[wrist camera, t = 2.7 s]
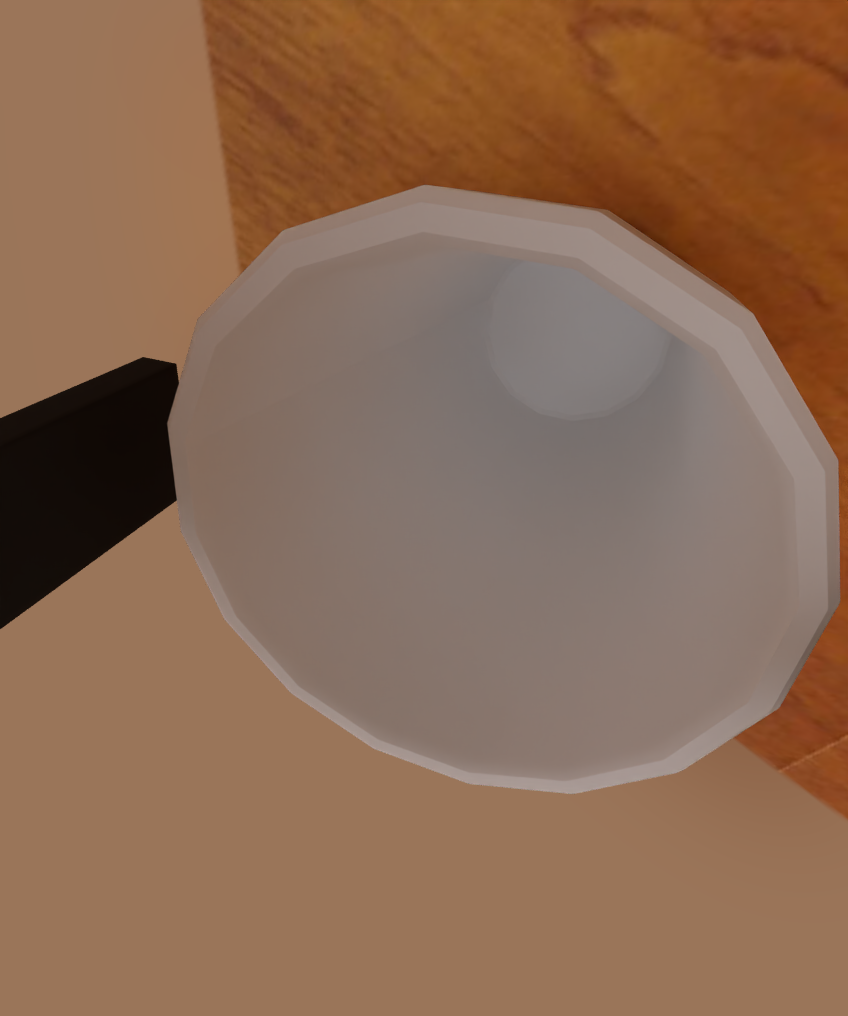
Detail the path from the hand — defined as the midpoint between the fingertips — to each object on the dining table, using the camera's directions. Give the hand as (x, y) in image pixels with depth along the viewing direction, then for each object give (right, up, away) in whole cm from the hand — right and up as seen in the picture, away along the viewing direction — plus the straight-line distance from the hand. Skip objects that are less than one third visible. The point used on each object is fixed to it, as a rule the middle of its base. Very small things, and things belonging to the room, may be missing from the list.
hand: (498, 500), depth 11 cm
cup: (+3, +6, +9) cm, 11 cm away
